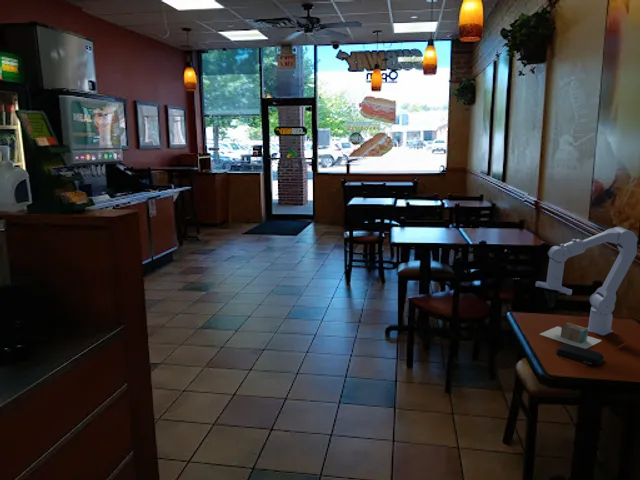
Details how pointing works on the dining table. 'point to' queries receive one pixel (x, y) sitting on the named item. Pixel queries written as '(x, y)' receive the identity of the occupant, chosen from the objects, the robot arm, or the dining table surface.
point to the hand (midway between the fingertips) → (550, 306)
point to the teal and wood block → (574, 333)
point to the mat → (556, 334)
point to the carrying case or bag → (580, 354)
